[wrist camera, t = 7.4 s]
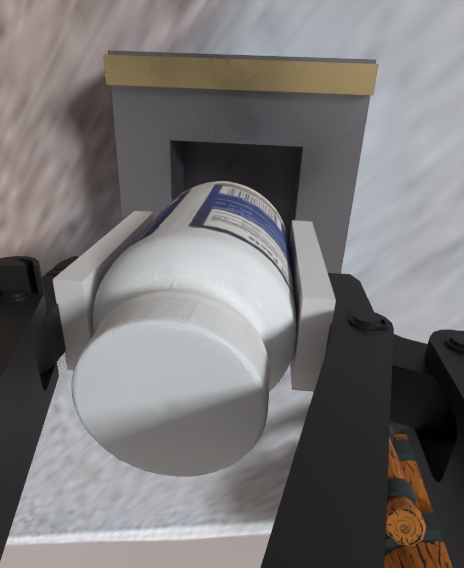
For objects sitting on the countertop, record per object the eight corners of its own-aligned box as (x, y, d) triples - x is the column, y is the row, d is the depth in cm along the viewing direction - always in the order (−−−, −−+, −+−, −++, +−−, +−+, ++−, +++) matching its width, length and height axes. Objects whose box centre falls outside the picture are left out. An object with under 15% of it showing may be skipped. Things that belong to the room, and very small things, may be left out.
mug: (471, 476, 32) (566, 659, 22) (346, 503, 35) (377, 678, 24) (430, 349, 28) (524, 504, 17) (289, 391, 30) (298, 548, 20)
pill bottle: (182, 312, 18) (98, 512, 10) (141, 197, 16) (-16, 318, 8) (301, 288, 17) (328, 488, 9) (272, 162, 15) (270, 255, 6)
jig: (132, 56, 22) (102, 49, 18) (360, 64, 21) (379, 58, 17) (146, 291, 28) (127, 321, 24) (324, 304, 27) (332, 338, 23)
